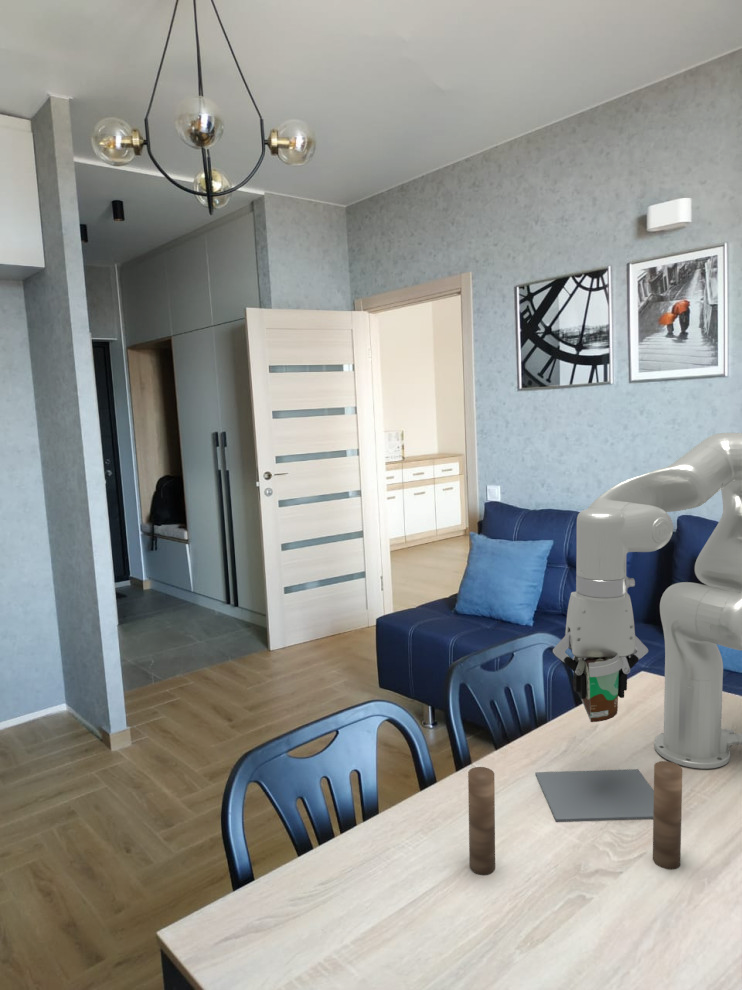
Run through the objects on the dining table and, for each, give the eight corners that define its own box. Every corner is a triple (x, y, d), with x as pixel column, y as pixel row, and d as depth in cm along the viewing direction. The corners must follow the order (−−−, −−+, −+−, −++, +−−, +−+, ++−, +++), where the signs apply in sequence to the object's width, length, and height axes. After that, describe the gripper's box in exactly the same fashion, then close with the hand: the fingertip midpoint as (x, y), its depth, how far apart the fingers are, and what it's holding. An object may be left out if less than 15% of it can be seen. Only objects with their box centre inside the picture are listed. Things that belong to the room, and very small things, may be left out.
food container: (633, 725, 107) (631, 662, 106) (592, 726, 108) (589, 664, 107) (616, 693, 119) (613, 636, 118) (579, 694, 120) (576, 638, 119)
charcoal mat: (638, 771, 122) (638, 769, 122) (671, 818, 108) (671, 815, 108) (535, 774, 123) (535, 772, 122) (556, 821, 109) (555, 819, 109)
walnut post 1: (492, 857, 101) (492, 766, 99) (497, 874, 97) (496, 780, 95) (467, 858, 101) (466, 767, 99) (471, 875, 97) (470, 780, 95)
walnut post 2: (673, 852, 100) (675, 760, 99) (684, 868, 97) (687, 774, 95) (648, 853, 100) (650, 761, 99) (658, 869, 97) (660, 774, 95)
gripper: (645, 578, 115) (643, 684, 117) (541, 582, 115) (541, 687, 117) (664, 590, 107) (662, 703, 109) (552, 594, 107) (552, 706, 110)
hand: (599, 693), depth 113 cm, fingers closed on food container, 5 cm apart
